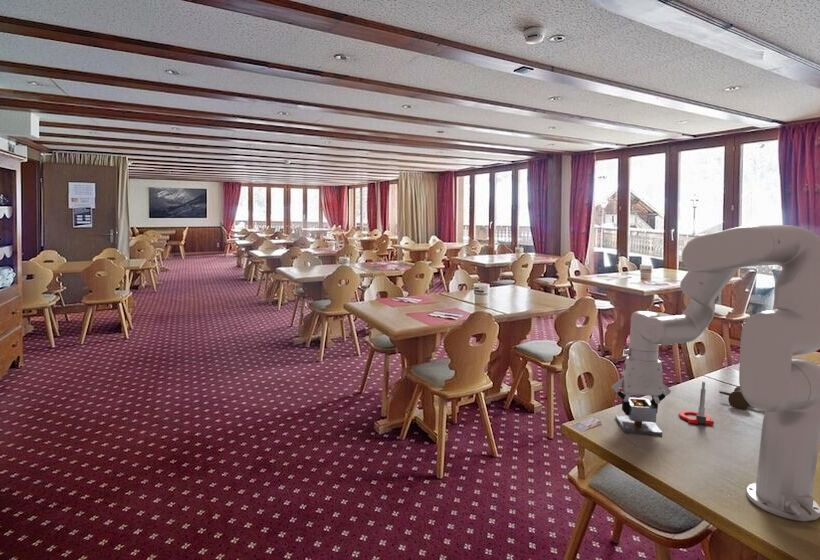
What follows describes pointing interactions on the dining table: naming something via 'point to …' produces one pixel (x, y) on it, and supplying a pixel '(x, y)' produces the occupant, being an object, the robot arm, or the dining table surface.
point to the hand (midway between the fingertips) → (639, 413)
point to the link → (642, 410)
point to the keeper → (638, 425)
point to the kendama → (737, 399)
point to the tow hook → (700, 416)
